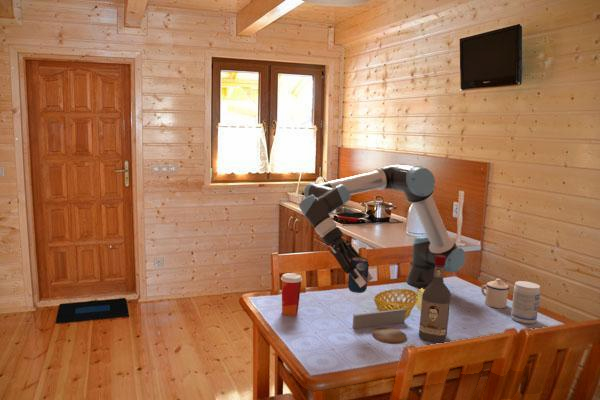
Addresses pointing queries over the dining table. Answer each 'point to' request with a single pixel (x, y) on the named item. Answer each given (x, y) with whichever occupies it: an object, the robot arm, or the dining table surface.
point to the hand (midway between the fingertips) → (366, 282)
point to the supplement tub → (525, 302)
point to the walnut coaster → (389, 335)
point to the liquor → (435, 306)
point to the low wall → (378, 318)
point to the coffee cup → (290, 293)
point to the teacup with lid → (496, 293)
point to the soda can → (362, 268)
